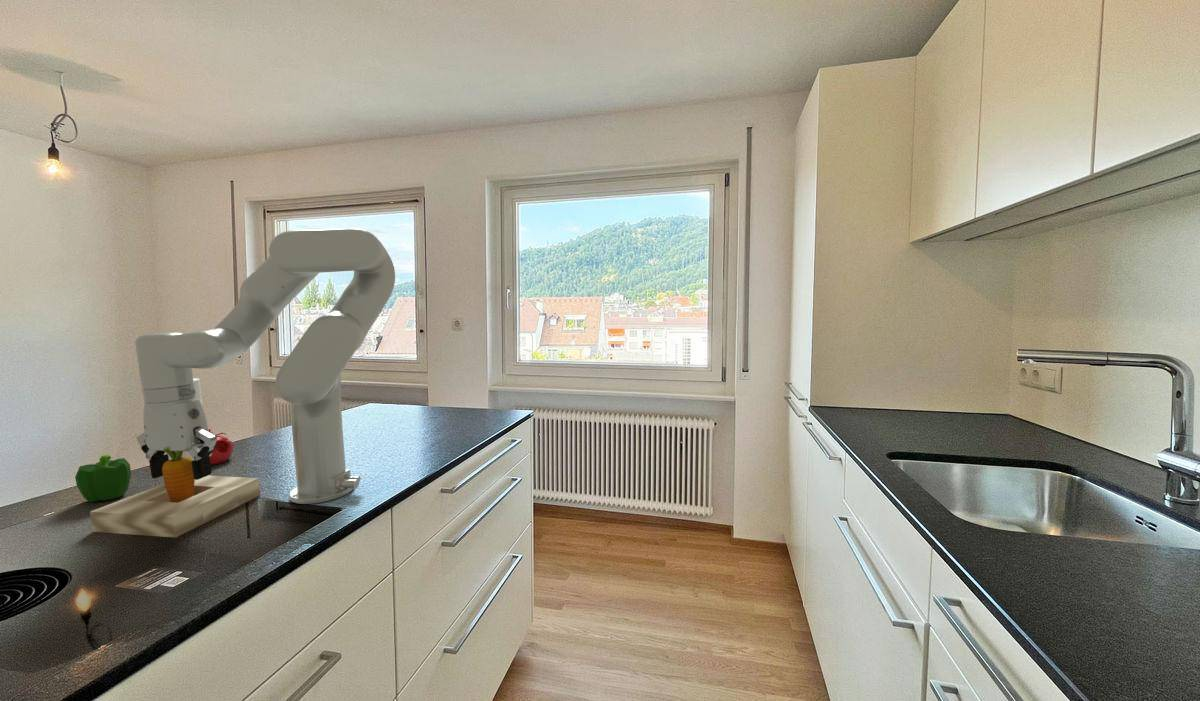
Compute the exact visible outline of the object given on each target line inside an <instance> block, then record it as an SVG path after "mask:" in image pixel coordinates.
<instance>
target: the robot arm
mask: <svg viewBox="0 0 1200 701" xmlns="http://www.w3.org/2000/svg"><path fill="white" fill-rule="evenodd" d="M268 254H269V256H268V257H267V258H266V259H265V260H264V261H263V262H262V263H261V264H260V265H259V266H258V267H257V268H256V269H255V270H254V271H253V272H251V274H250V275H248V277H247V278H245V279H244V281H243V282H242V283H241V286H240V288H239V297H238V298H239V299H238V301H237V303H236V304H235V306H234V307H233V309H232V310H231V311H230V312H229V313H228V314H227V315H226V316H225V317H224V318H223V319H222V320H221V321H220V322H219V323H218V324H217V325H216V326H215V327H213V328H210V329H205V330H200V331H193V332H187V333H181V332H176V331H175V332H173V331H172V332H171V331H170V332H155V333H145V334H142V335H139V336H138V337H137V338H136V339H135V349H136V350H135V351H136V352H135V353H136V357H137V362H138V363H137V364H138V370H139V376H140V382H141V388H142V389H141V390H142V396H143V403H144V404H143V431H144V432H142V433H141V434H139V435H137V437H136V441H137V442H138V444H139V446H141V447H140V449H141V451H142V452H143V453H144V454H145V458H146V460H148V462H149V470H150V476H151V478H152V479H158V478H160V477H163V472H162V467H163V464H164V463H165V462H166V461H168V460H169V457H168V454H166V452H165V451H164V450H163V449H164V448H165V447H167V448H168V449H169V451H187V452H188V453H189V454H190V455H191V456H192V457H193V458H194V460H193V461H192V470H193V477H194V479H195V480H198V479H201V478H203V477H206V476H208V475H210V476H211V475H212V473H213V472H212V465H211V464H210V457H209V456H211V455H212V452H213V450H214V449H215V444H216V441H217V437H216V436H214V435H215V434H213V433H212V434H211V433H209V430H208V428H209V425H208V422H207V418H206V414H205V410H204V408H203V407H204V406H203V407H202V405H203V404H202V405H201V403H200V401H199V399H196V395H195V393H196V391H195V388H194V381H193V378H194V376H193V369H200V370H201V369H203V370H204V369H205V370H206V369H214V368H216V367H219V366H222V365H224V364H228V363H230V362H231V363H232V362H233V361H235V360H237V359H238V358H240V357H241V356H242V355H244V354H245V353H246V352H247V351H248V350H249V349H250V348H251V347H252V346H253V345H254V344H255V342H257V341H258V340H259V339H260V338H261V336H263V335H264V333H265V332H266V331H267V330H268V329H269V327H270V326H271V325H272V324H273V323H274V321H276V319H277V318H278V317H279V316H280V314H282V311H283V310H285V308H286V307H287V306H288V305H289V304H290V303H291V302H292V301H293V300H294V299H295V298H297V296H298V295H299V294H300V293H301V292H302V291H303V290H304V288H307V285H309V284H310V283H311V282H312V281H313V280H314V279H315V278H316V277H317V276H318V275H319V274H320V273H321V274H322V273H336V272H350V271H351V272H353V276H352V279H351V280H350V283H349V284H347V286H346V288H345V289H344V291H342V293H341V295H340V297H339V299H338V300H337V301H336V303H335V304H334V306H333V307H332V308H331V309H330V310H329V312H328V313H325V314H323V315H320V316H318V317H317V318H316V319H315V320H314V321H313V322H312V323H311V324H310V325H309V326H308V327H307V329H306V330H305V332H304V333H303V335H302V336H301V337H300V339H299V341H298V342H297V343H296V344H295V346H294V348H293V349H292V351H291V352H290V353H289V355H288V357H287V358H286V359H285V361H284V362H283V364H282V366H281V367H280V369H278V372H277V374H276V378H275V388H276V389H275V390H276V391H277V393H278V395H279V396H280V397H281V398H282V399H283V400H284V401H285V402H286V403H288V404H290V419H291V420H290V421H291V422H290V423H291V434H292V444H293V455H294V466H295V478H296V486H295V487H294V488H293V489H292V490H291V491H290V492H289V494H288V496H289V497H288V498H289V500H290V501H291V502H292V503H295V504H299V505H300V504H301V505H308V504H309V505H311V504H318V503H319V504H320V503H325V502H328V501H334V500H335V499H338V498H341V497H343V496H346V495H347V494H349V493H351V492H352V490H355V489H358V487H359V486H360V482H361V479H362V478H361V476H360V475H353V476H352V475H351V469H350V468H347V467H346V456H345V454H346V453H345V442H344V430H343V428H344V427H343V413H342V378H341V375H342V372H343V371H344V369H345V368H346V366H347V364H348V363H349V361H350V360H351V359H352V358H353V356H354V354H355V353H356V352H357V351H358V350H359V349H360V348H361V347H362V345H363V343H364V340H365V339H366V337H367V334H368V333H369V331H370V330H371V328H372V327H373V325H374V324H375V322H376V321H377V319H378V317H379V315H380V314H381V312H382V311H383V310H384V308H385V306H386V304H387V303H388V301H389V300H390V297H391V295H392V294H393V291H394V287H395V282H396V272H395V271H396V270H395V265H394V263H393V260H392V258H391V256H390V255H389V252H388V251H387V249H386V248H385V246H384V245H383V243H382V242H381V241H380V240H379V238H378V237H377V236H376V235H374V234H373V233H372V232H370V231H368V230H365V229H361V228H354V227H353V228H350V227H349V228H347V227H346V228H325V229H322V228H321V229H296V230H295V229H293V230H286V231H283V232H281V233H278V234H277V235H276V236H275V237H274V238H272V240H271V242H270V244H269V247H268ZM191 445H192V446H191ZM198 448H199V449H200V451H199V453H198V452H197V451H196V449H198Z"/></svg>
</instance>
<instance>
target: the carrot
mask: <svg viewBox="0 0 1200 701" xmlns="http://www.w3.org/2000/svg"><path fill="white" fill-rule="evenodd" d="M163 450H164V451H165V454H166V453H167V454H168V455H169V456H170V457H171V458H172V459H171V460H168V461H166V462H165V463H164V464H163V467H162V472H163V476H162V478H163V482H164V483H165V488H166V490H167V493H168V495H169V498H170V500H171V502H176V503H179V502H181V501H183V500H186V499H188V498H190V497H192V496H193V492H194V483H195V479H194V477H193V470H192V461H193V459H192V458H189V457H182V453H183V451H176V453H175V451H169V449H168V448H167V447H165V448H164V449H163ZM164 483H163V484H164Z"/></svg>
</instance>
